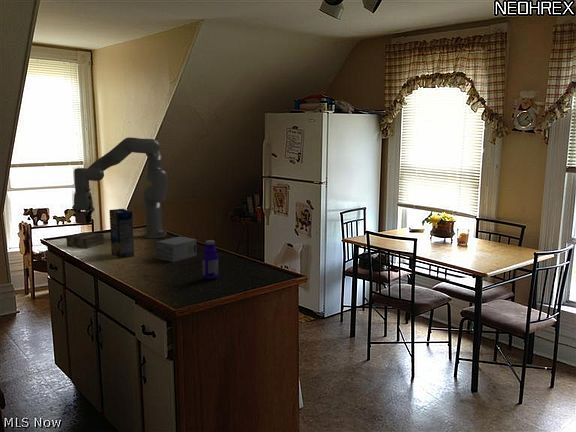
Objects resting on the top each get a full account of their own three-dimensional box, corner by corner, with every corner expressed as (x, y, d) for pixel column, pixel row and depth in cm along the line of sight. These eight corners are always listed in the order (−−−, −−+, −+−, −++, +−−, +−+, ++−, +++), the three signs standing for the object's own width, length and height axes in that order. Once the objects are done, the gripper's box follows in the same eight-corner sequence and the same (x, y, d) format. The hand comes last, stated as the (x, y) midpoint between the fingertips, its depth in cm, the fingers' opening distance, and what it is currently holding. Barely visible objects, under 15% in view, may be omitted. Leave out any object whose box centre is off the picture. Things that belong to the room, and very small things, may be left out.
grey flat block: (103, 244, 303) (103, 234, 302) (86, 249, 290) (86, 238, 289) (84, 242, 308) (84, 232, 307) (67, 247, 295) (66, 236, 294)
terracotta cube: (91, 222, 299) (91, 211, 298) (84, 224, 293) (83, 213, 292) (83, 221, 301) (83, 211, 300) (75, 223, 295) (75, 212, 294)
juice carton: (111, 254, 279) (109, 209, 275) (125, 252, 283) (122, 208, 279) (120, 258, 270) (118, 212, 266) (134, 256, 274) (132, 211, 270)
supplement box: (173, 262, 263) (173, 244, 262) (155, 258, 271) (155, 241, 269) (197, 256, 277) (197, 238, 276) (179, 252, 284) (179, 235, 283)
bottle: (212, 275, 241) (211, 238, 238) (220, 278, 237) (220, 240, 234) (200, 279, 235) (199, 241, 232) (208, 281, 232) (208, 243, 229)
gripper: (99, 190, 294) (100, 221, 297) (75, 188, 300) (76, 219, 303) (89, 191, 287) (91, 223, 290) (65, 189, 293) (67, 221, 296)
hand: (83, 221), depth 297 cm, fingers closed on terracotta cube, 6 cm apart
